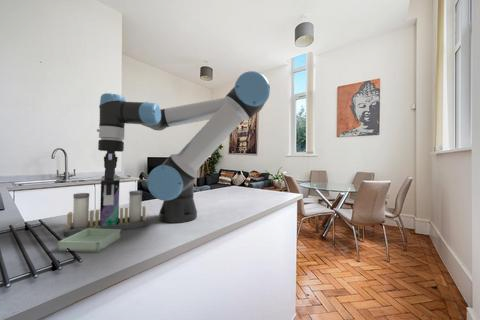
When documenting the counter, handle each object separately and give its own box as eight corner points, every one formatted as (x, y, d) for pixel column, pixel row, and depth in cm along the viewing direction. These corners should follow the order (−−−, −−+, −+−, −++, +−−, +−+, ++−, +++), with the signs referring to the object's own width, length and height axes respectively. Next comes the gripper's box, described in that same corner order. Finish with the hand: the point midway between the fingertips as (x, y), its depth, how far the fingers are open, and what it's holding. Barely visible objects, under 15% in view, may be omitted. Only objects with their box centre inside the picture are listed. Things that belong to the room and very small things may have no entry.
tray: (120, 237, 64) (120, 229, 64) (97, 252, 53) (98, 242, 53) (87, 236, 64) (87, 228, 64) (58, 251, 53) (58, 241, 53)
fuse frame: (144, 219, 82) (144, 204, 82) (146, 226, 74) (147, 209, 74) (70, 227, 71) (70, 210, 71) (63, 236, 63) (64, 216, 63)
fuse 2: (143, 222, 79) (144, 190, 79) (137, 226, 74) (138, 192, 74) (132, 222, 79) (133, 190, 79) (126, 225, 74) (127, 192, 74)
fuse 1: (91, 228, 71) (92, 193, 71) (82, 232, 66) (83, 195, 66) (79, 228, 71) (80, 192, 71) (68, 232, 66) (70, 194, 66)
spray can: (98, 230, 69) (99, 170, 69) (101, 225, 74) (103, 169, 74) (117, 228, 71) (118, 170, 71) (119, 223, 76) (120, 169, 76)
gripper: (101, 141, 81) (99, 195, 81) (94, 136, 60) (92, 210, 60) (123, 142, 85) (121, 194, 85) (124, 138, 63) (122, 207, 64)
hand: (109, 200), depth 72 cm, fingers open, 13 cm apart
